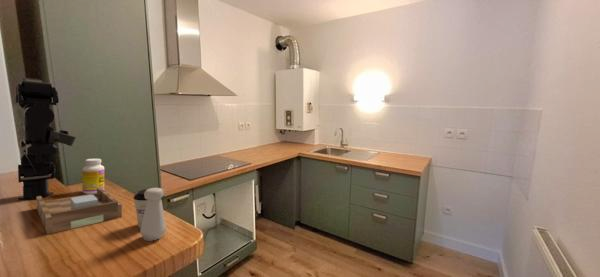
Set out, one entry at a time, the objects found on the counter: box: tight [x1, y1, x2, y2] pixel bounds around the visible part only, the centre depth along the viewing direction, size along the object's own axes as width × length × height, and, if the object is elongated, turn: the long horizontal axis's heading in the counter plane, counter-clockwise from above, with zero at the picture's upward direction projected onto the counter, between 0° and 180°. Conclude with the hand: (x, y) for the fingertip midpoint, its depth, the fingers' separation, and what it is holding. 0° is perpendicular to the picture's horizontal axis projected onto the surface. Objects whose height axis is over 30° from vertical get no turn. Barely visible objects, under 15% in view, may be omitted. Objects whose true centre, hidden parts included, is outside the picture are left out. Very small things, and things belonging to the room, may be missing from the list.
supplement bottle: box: [81, 158, 105, 195], centre depth 96 cm, size 7×7×13 cm
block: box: [71, 194, 98, 210], centre depth 71 cm, size 6×5×4 cm
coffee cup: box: [133, 188, 148, 229], centre depth 71 cm, size 7×7×10 cm
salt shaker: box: [139, 187, 167, 242], centre depth 64 cm, size 6×6×13 cm
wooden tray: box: [35, 187, 123, 235], centre depth 76 cm, size 24×16×5 cm, turn 51°
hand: (38, 172), depth 77 cm, fingers closed
